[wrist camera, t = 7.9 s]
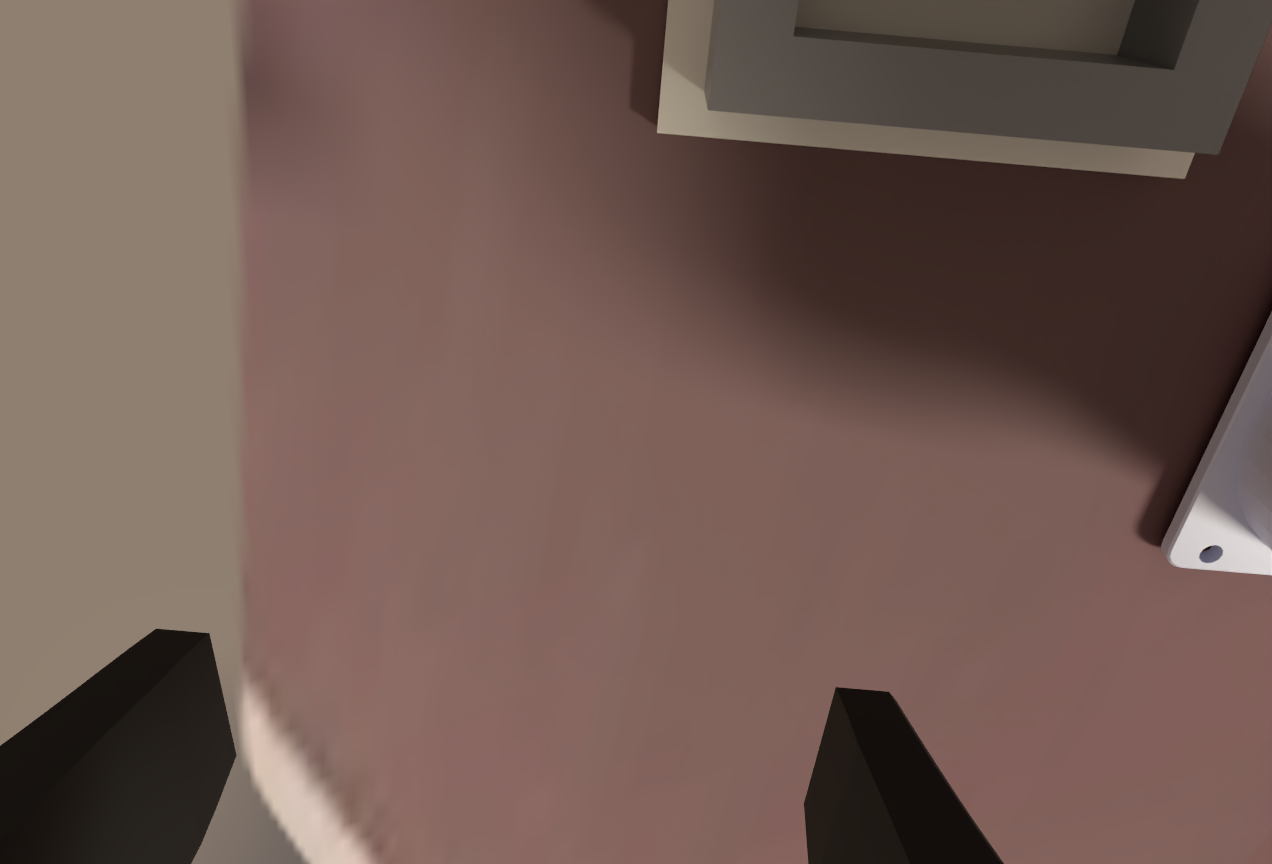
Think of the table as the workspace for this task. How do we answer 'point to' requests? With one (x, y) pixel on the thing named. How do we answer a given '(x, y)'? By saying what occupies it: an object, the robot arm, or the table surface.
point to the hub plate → (967, 77)
